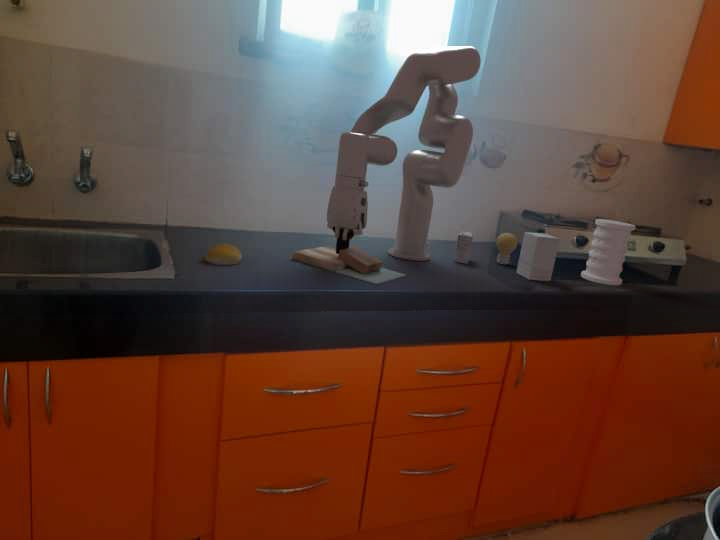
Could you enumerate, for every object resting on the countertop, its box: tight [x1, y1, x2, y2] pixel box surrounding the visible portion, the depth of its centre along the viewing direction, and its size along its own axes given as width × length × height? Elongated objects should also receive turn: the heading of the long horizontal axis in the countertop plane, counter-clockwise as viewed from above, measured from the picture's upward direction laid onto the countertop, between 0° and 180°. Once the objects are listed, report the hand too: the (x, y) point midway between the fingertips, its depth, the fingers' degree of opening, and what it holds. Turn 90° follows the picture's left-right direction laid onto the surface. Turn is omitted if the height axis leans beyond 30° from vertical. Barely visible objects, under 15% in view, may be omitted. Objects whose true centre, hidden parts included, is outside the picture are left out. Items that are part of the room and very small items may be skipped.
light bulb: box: [495, 232, 518, 266], centre depth 157 cm, size 6×6×10 cm
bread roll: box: [204, 243, 243, 266], centre depth 120 cm, size 8×9×4 cm
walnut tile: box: [338, 246, 384, 275], centre depth 127 cm, size 7×9×2 cm
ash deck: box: [292, 245, 351, 273], centre depth 133 cm, size 14×14×2 cm
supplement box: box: [515, 231, 561, 282], centre depth 144 cm, size 7×7×13 cm
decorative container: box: [580, 218, 636, 286], centre depth 152 cm, size 12×12×18 cm
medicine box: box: [453, 230, 473, 265], centre depth 155 cm, size 8×4×9 cm, turn 168°
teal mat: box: [335, 267, 407, 286], centre depth 126 cm, size 14×12×1 cm
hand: (341, 253), depth 130 cm, fingers closed
